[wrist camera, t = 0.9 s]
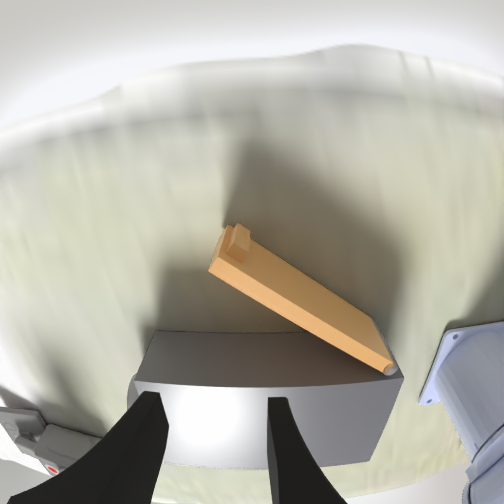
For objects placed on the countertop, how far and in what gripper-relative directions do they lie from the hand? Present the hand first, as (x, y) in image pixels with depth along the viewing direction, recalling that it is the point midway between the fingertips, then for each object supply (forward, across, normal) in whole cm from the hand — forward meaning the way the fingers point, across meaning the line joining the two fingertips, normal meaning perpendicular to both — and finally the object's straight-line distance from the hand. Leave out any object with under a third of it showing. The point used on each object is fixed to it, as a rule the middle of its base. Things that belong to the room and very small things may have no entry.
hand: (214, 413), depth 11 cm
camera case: (+9, -2, +8) cm, 12 cm away
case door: (+9, -5, -1) cm, 10 cm away
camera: (+10, +21, +20) cm, 30 cm away
